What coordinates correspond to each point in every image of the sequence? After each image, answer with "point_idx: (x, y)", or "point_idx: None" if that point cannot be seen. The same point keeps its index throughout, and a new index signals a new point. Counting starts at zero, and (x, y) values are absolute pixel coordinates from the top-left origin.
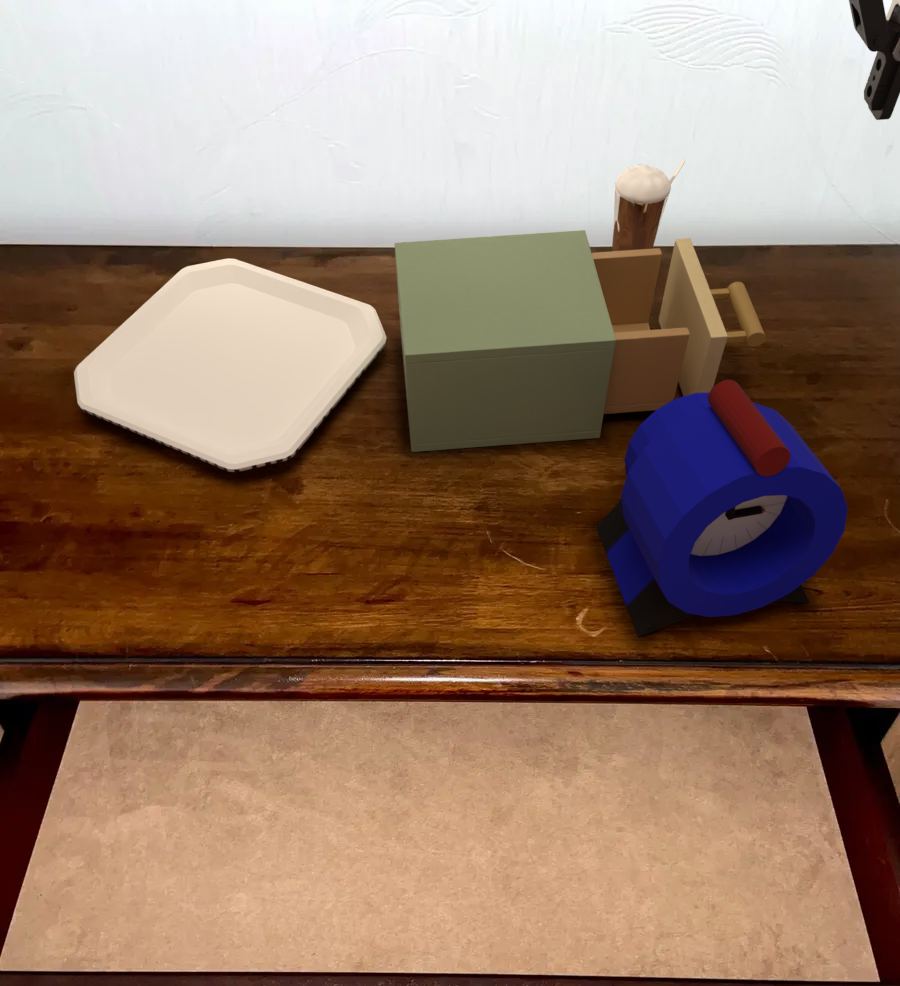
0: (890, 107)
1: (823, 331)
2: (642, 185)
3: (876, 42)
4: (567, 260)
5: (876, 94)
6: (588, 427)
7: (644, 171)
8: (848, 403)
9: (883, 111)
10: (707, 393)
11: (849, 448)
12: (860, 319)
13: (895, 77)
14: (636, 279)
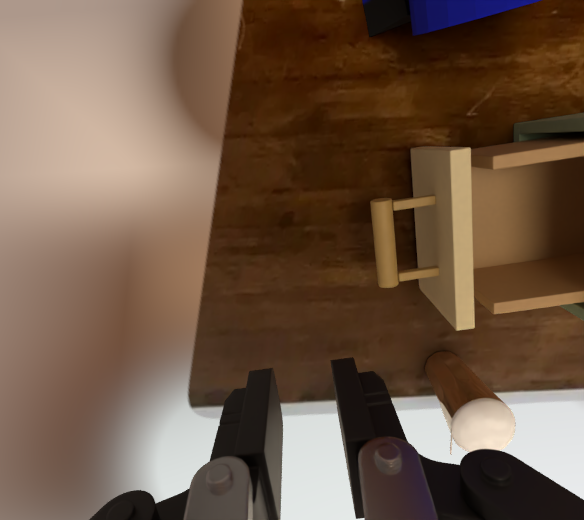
0: (342, 369)
1: (266, 286)
2: (495, 417)
3: (504, 465)
4: None
5: (382, 392)
6: (536, 120)
7: (487, 442)
8: (257, 186)
9: (353, 364)
10: (520, 3)
11: (265, 121)
12: (228, 305)
13: (367, 411)
14: (502, 287)
